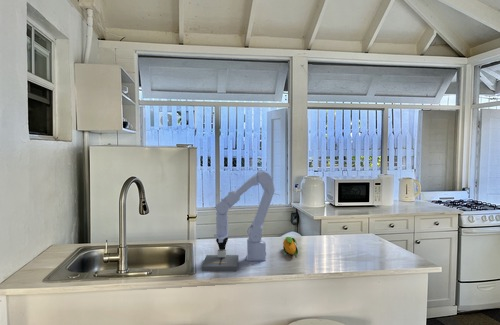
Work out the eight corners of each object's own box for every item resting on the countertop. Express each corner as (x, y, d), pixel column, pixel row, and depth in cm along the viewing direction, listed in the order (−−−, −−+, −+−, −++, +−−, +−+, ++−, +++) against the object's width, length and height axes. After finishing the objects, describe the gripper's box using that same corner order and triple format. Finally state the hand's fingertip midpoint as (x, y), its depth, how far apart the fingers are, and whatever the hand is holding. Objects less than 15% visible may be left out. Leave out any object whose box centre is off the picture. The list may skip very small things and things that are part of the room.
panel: (238, 259, 168) (238, 254, 168) (236, 270, 152) (236, 266, 152) (206, 259, 168) (206, 254, 168) (201, 270, 152) (201, 266, 152)
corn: (294, 233, 187) (300, 244, 167) (295, 247, 188) (301, 259, 168) (281, 234, 187) (285, 245, 167) (282, 248, 188) (286, 260, 168)
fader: (226, 255, 166) (226, 249, 166) (225, 257, 164) (225, 251, 163) (218, 255, 166) (217, 249, 166) (217, 257, 164) (217, 251, 163)
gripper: (215, 222, 174) (215, 248, 174) (212, 229, 159) (212, 257, 160) (229, 222, 174) (229, 248, 174) (227, 229, 159) (227, 257, 160)
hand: (222, 252), depth 167 cm, fingers closed
